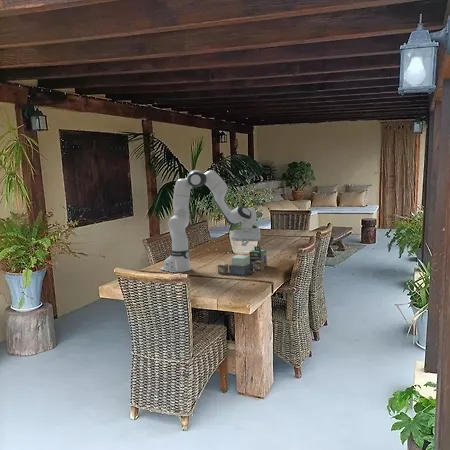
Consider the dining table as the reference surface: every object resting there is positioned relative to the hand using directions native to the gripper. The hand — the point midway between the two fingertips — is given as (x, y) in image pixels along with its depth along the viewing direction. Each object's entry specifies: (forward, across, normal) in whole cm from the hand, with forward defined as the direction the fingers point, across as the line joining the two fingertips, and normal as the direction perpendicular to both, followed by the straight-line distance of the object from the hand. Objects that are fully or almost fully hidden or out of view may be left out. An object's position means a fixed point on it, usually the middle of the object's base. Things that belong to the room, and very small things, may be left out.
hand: (243, 245), depth 297 cm
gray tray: (+17, 0, +7) cm, 19 cm away
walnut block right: (+11, +10, +14) cm, 20 cm away
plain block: (+15, 0, +5) cm, 16 cm away
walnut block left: (+20, -12, +5) cm, 23 cm away
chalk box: (+4, +6, +21) cm, 22 cm away
